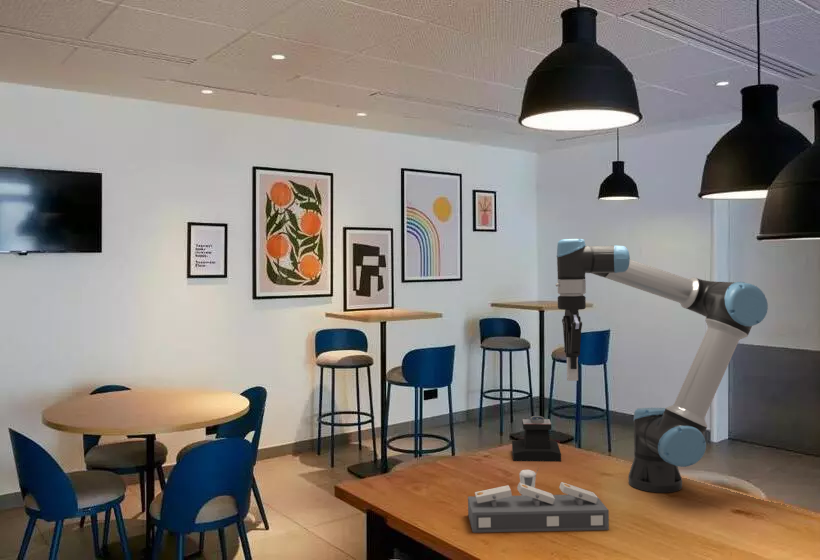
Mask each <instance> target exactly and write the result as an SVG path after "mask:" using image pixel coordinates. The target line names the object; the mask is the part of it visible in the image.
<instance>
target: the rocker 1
mask: <svg viewBox="0 0 820 560" xmlns="http://www.w3.org/2000/svg"><path fill="white" fill-rule="evenodd" d="M509 485H510V484H507V485H502V486H497V487H494V488H489V489H485V490H484V489H483V490H480V491H475V492H474V496H476V500H477V503H482V502H487V501H492V500H496V499H501V498H506V497H511V496H513V493H512V489H511V487H510V486H509Z"/></svg>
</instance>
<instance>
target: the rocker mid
mask: <svg viewBox="0 0 820 560" xmlns="http://www.w3.org/2000/svg"><path fill="white" fill-rule="evenodd" d="M516 489H517V491H518V492H519V495H521V494H523V495H526V496H529V497H532V498H535V499H538V500H541V501H544V502H547V503H550V504H553V503H554V500H555V498H554V496H553V495H554V494H553V493H551V492H549V491H545V490H543V489H539V488H536V487H535V488H534V487H531V486H528V485H525V484H522V483H520V482H518V484H517V487H516Z"/></svg>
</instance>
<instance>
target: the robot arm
mask: <svg viewBox="0 0 820 560" xmlns="http://www.w3.org/2000/svg"><path fill="white" fill-rule="evenodd" d="M630 258H631V257H630V251H629V250H628V248H627V247H626V246H625V245H616V244H614V245H591V246H590V245H586V240H585V239H583V238H564V239H560V240H558V242H557V247H556V265H557V267H556V269H557V283H555V286H556V287H557V293H558V296H557V309H559V310H561V311H563V310H564V315H563V316H562V319H561V322H562V331H563V346H564V353H565V357H566V381H568V382H577V381H579V362H578V361H579V356H581V341H582V328H583V322H582V321H581V316H580V314H579V311H580V310H585V309H586V307H587V305H586V298H587V297H586V295H584V294H586V293H587V290H586V285H587V284H586V283H587V282H586V281H587V280H586V274H592V275H595V276H599V277H601V278H605V279H607V280H611V281H614V282H615V283H616V282H617V283H620V284H623V285H625V286H629V287H632V288H635V289H636V290H640V291H644V292H647V293H649V294H652V295H655V296H659V297H660V298H664V299H667V300H670V301H673V302H675V303H678V304H680V307H682V308H684V309H686V310H689V311H691V312H694V313H696V314H699V315H700V316H703V317H705V321H704V322H706V325H707V329H706V331H705V333H704V336H703V338H702V341H701V342H700V345H699V348H698V349H697V352H696V354H695V356H694V358H693V361H692V363H691V365H690V368H689V370H688V372H687V374H686V376H685V378H684V381H683V383H682V385H681V387H680V389H679V392H678V394H677V397H676V399H675V401H674V403H673V404H672V405H670V406H667V407H641V408H639V407H638V408H637V409H635V411H634V412H633V419H632V420H633V421H632V422H633V443H634V444H633V447H634V448H633V451H634V452H633V453H634V454H633V455H634V457H633V460H632V464H631V466H630V470H629V473H628V484H629V486H630V487H633V488H634V489H636V490H637V489H638V490H640V491H645V492H651V493H659V494H660V493H661V494H662V493H674V492H678V491H680V490H681V489H682V488H683V478H682V476H681V473H680V469H679V467H680V468H686V467H687V468H688V467H690V466H693V465H695V464H697V463H698V462H700V460H701V459H702V458H703V457H704V455H705V452H706V450H707V441H706V439H705V436H704V435H705V432H706V431H707V428H708V425H707V422H706V416H707V414H708V411H709V409H710V407H711V404H712V402H713V399H714V398H715V395H716V393H717V391H718V390H719V389H718V388H719V386H720V384H721V382H722V380H723V377H724V376H725V372H726V370H727V369H728V365H730V362H731V359H732V357H733V355H734V353H735V350H736V348H737V346H738V344H739V341H740V340H742V339H744V338H745V339H746V338H748V337H749V334H750V332H751V329H752V327H754V326H756V325H758V324H761V322H763V321H764V319H765V318H766V316H767V314H768V310H769V304H768V299H767V298H766V295H765V293H764V291H763V290H762V289H760V288H759V287H758V286H757V285H755V284H752V283H747V282H744V281H737V282H735V281H734V282H732V281H730V282H729V281H711V280H704V279H701V278H697V277H694V276H693V277H691V278H687V277H684V276H681V275H678V274H675V273H671V272H668V271H666V270H663V269H659V268H657V267H654V266H651V265H648V264H645V263H643V262H639V261H636V260H632V259H630Z"/></svg>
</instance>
